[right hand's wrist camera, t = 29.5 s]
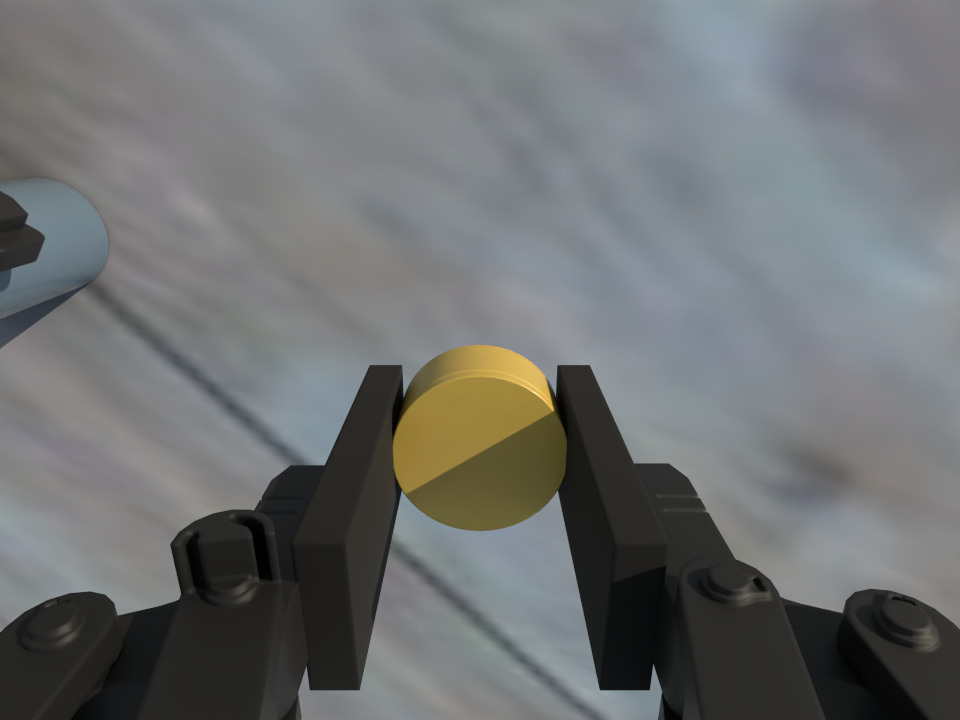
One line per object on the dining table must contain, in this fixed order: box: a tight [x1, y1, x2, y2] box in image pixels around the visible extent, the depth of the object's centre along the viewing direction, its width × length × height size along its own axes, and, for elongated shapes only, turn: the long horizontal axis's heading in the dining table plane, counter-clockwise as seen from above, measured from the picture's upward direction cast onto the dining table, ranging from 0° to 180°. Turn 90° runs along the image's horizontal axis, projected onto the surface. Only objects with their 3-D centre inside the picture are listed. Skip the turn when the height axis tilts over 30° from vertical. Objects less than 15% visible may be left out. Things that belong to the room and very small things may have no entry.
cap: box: [393, 345, 567, 531], centre depth 14 cm, size 4×4×2 cm
